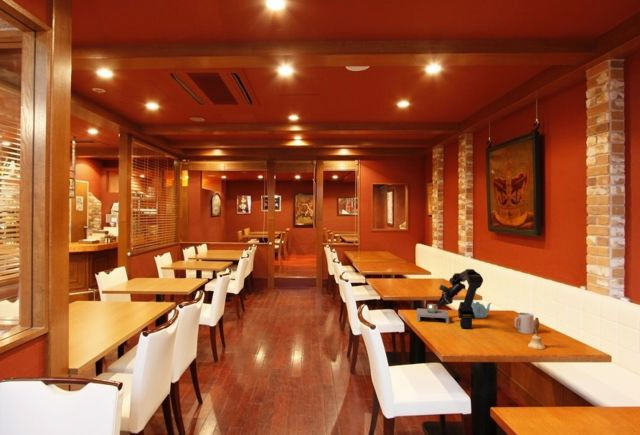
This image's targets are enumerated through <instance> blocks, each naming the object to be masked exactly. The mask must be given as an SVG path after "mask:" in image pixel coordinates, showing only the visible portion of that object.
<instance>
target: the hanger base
mask: <svg viewBox="0 0 640 435" xmlns="http://www.w3.org/2000/svg"><path fill="white" fill-rule="evenodd" d="M449 315H450V314H448V312H447V309H437V313H428V312H427V308H416V318H417V322H419V323H420V322H421V318H422V317H423V318H430V317H435V318H438V319H439V318H441V319H444V321H445V323H446V324H450V316H449ZM435 318H434V319H435Z"/></svg>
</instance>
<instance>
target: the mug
mask: <svg viewBox="0 0 640 435" xmlns="http://www.w3.org/2000/svg"><path fill="white" fill-rule="evenodd" d="M534 320H535V318H534V314H532V313H529V312H518V314H517V316H516V317H515V318H514V327H515V328H516V329H517V332H519V333H521V334H525V335H533V334H534V333H535V327H534Z"/></svg>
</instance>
